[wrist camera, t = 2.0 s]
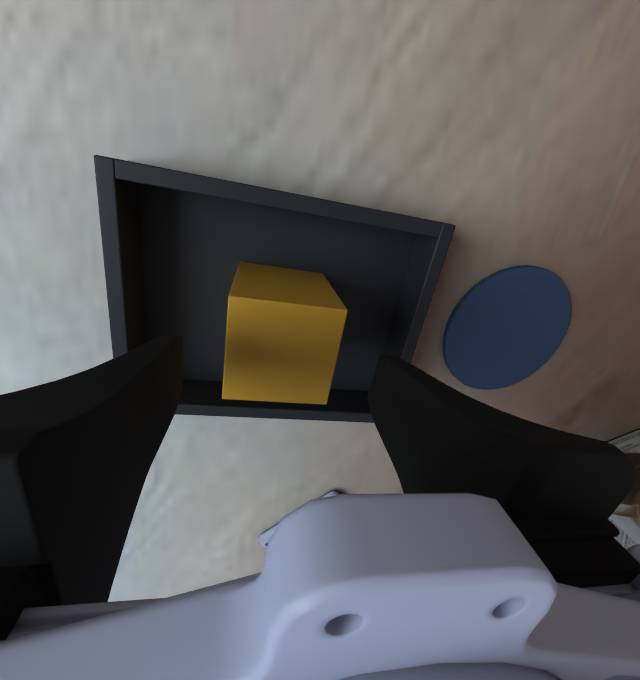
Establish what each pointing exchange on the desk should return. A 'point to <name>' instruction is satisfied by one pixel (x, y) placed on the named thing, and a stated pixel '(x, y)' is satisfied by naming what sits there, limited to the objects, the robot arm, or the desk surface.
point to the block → (281, 335)
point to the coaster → (506, 327)
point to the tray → (266, 249)
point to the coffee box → (629, 495)
